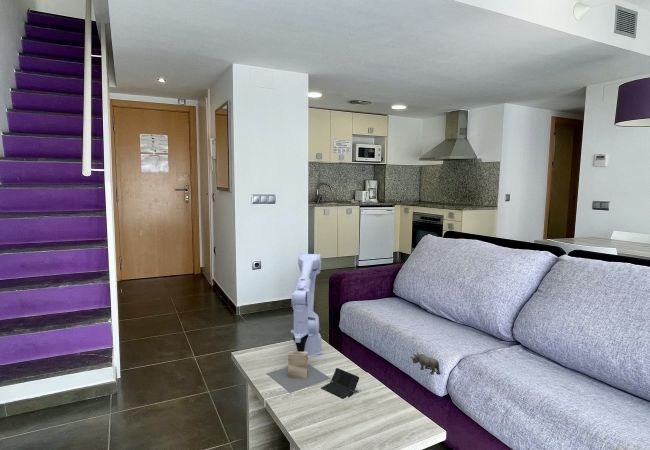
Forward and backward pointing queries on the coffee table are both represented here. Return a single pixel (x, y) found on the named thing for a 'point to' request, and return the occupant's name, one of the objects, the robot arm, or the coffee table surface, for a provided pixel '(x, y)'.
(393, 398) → the coffee table surface
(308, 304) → the robot arm
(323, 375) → the charcoal mat
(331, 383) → the handheld gaming console
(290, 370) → the maple slab
